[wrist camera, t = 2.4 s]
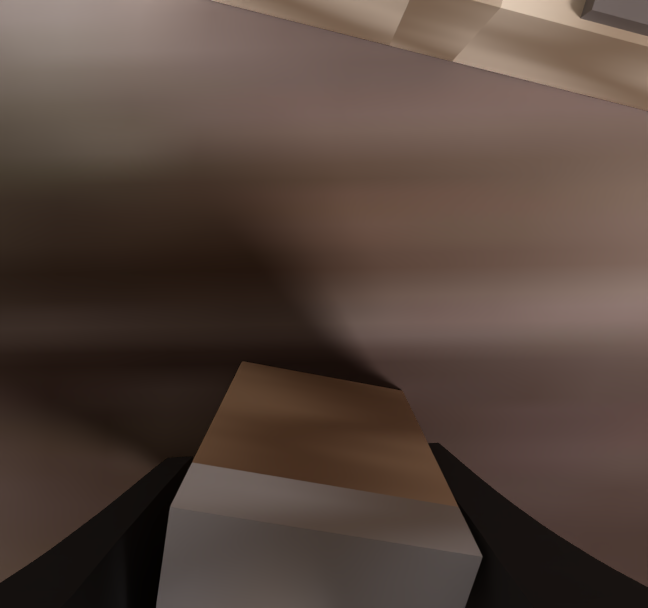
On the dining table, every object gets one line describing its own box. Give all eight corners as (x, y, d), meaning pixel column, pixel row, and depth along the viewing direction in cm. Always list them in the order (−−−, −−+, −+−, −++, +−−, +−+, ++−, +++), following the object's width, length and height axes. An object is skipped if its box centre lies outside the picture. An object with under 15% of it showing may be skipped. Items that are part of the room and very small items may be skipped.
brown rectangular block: (402, 390, 11) (482, 556, 6) (365, 525, 12) (406, 775, 7) (242, 360, 11) (169, 507, 5) (218, 501, 12) (136, 742, 6)
